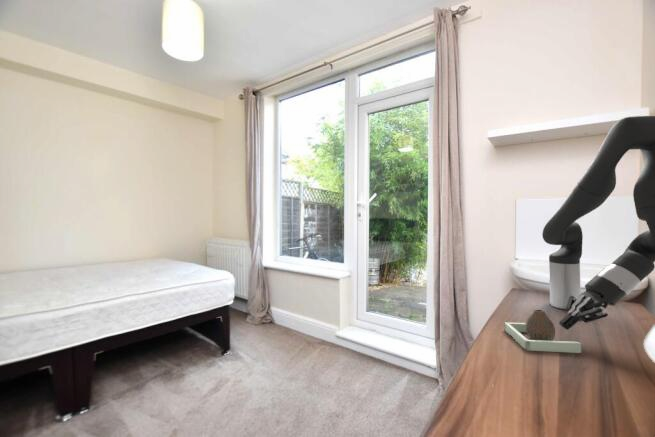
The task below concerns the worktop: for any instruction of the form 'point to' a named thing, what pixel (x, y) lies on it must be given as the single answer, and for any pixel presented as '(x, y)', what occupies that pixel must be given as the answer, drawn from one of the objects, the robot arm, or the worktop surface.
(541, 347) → the bay
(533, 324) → the vase
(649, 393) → the worktop surface
